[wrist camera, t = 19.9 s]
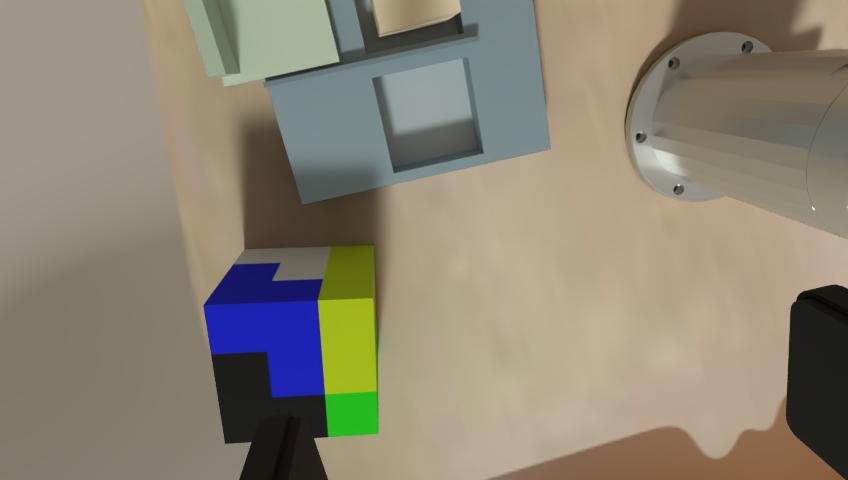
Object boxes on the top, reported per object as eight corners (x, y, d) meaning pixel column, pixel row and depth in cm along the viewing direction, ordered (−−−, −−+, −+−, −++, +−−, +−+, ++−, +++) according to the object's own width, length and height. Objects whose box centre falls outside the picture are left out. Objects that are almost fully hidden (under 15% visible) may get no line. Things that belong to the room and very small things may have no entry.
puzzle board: (507, -95, 33) (522, -115, 30) (537, 143, 39) (554, 151, 35) (239, -38, 33) (223, -52, 29) (307, 194, 38) (300, 207, 35)
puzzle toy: (244, 248, 39) (203, 305, 30) (373, 244, 40) (373, 298, 31) (258, 360, 42) (225, 443, 33) (377, 354, 43) (378, 433, 34)
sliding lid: (311, -55, 30) (302, -72, 27) (340, 61, 32) (335, 60, 29) (189, -29, 30) (164, -43, 26) (226, 86, 32) (208, 88, 29)
